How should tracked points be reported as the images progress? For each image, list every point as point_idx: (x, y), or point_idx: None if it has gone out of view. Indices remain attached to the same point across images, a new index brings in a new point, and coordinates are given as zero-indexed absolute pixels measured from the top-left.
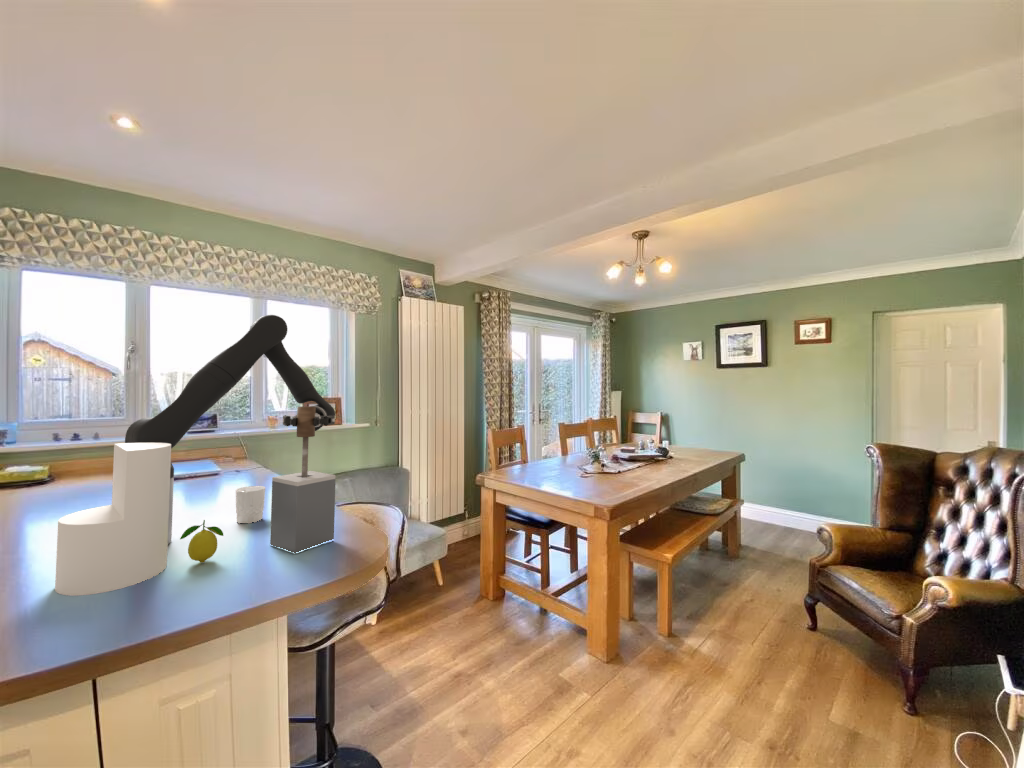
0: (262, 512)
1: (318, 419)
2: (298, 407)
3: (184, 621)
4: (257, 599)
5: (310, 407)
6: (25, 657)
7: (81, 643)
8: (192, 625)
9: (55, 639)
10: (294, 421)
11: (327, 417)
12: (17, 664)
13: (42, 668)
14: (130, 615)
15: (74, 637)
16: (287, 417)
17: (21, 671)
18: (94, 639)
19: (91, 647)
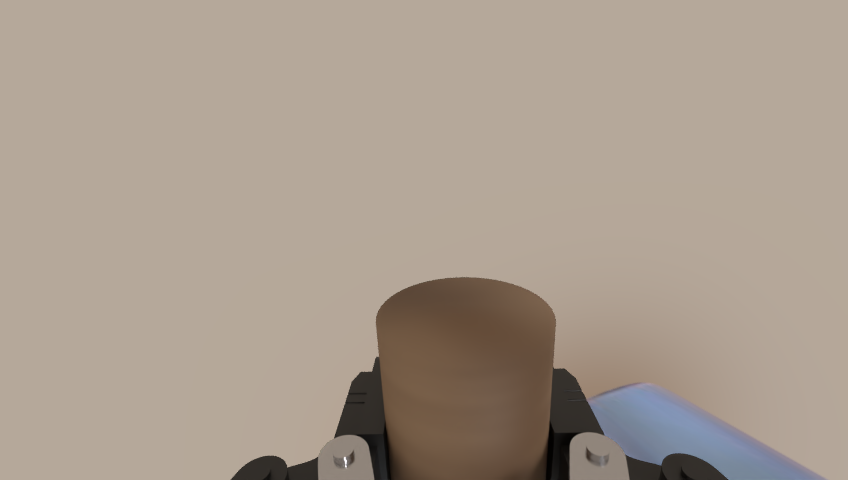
0: None
1: (364, 372)
2: (524, 293)
3: None
4: None
5: (420, 287)
6: (681, 404)
7: (647, 414)
8: None
9: (692, 428)
10: None
11: (254, 468)
12: (674, 396)
13: (638, 386)
14: (654, 461)
15: (672, 427)
16: (680, 460)
17: (654, 386)
18: (640, 418)
19: (625, 405)
